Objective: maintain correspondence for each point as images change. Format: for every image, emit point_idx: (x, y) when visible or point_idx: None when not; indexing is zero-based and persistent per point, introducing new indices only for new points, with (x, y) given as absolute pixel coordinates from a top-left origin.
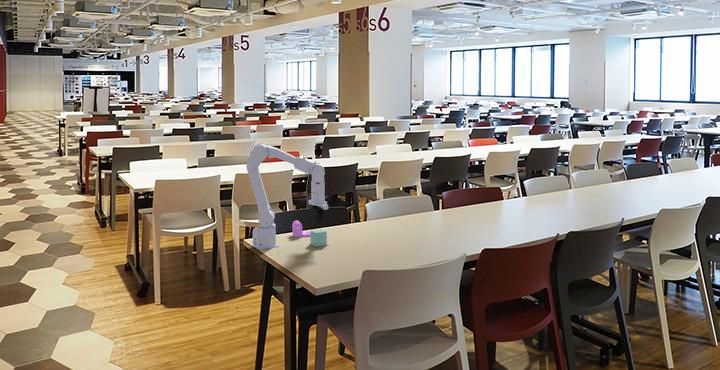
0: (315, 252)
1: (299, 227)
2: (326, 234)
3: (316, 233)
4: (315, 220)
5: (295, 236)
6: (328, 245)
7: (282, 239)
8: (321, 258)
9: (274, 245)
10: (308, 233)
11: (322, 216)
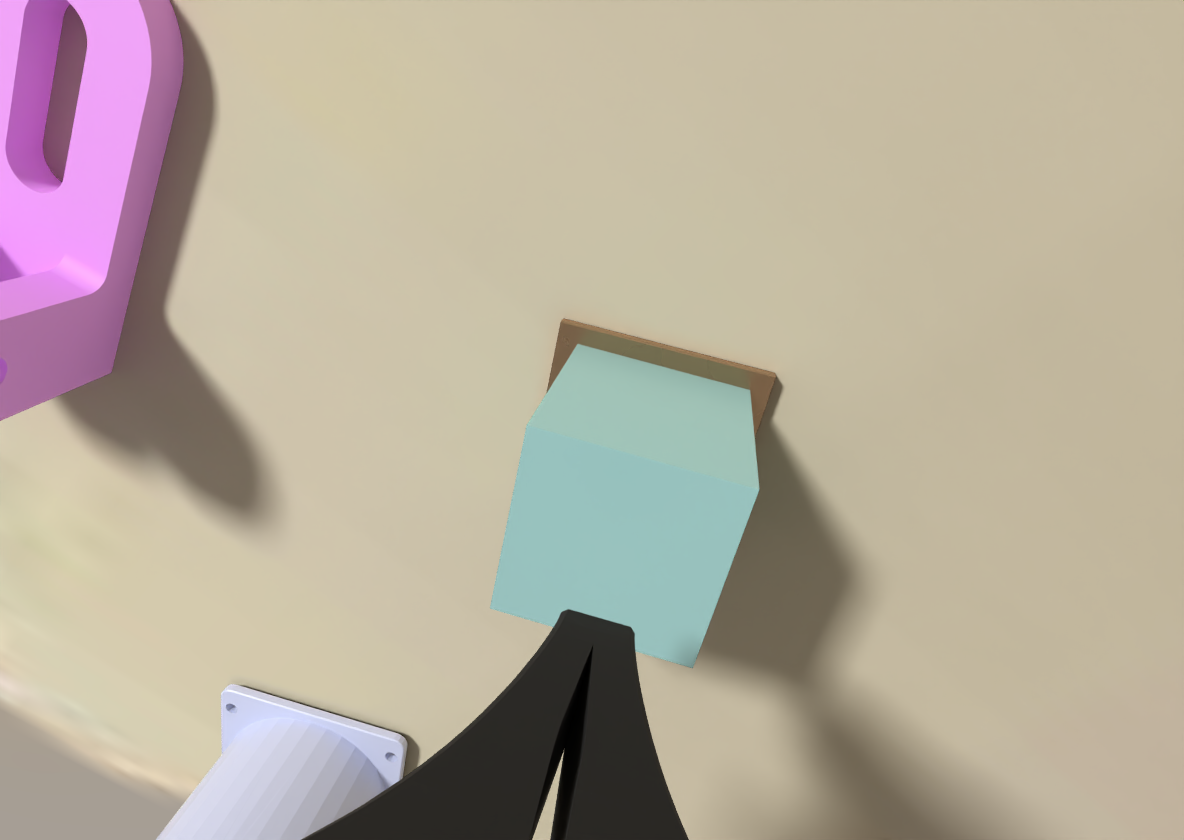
0: (865, 673)
1: None
2: (755, 466)
3: (697, 652)
4: (563, 771)
5: (99, 366)
6: (774, 377)
7: (120, 511)
8: (1114, 797)
9: (374, 775)
10: (66, 166)
11: (657, 759)
